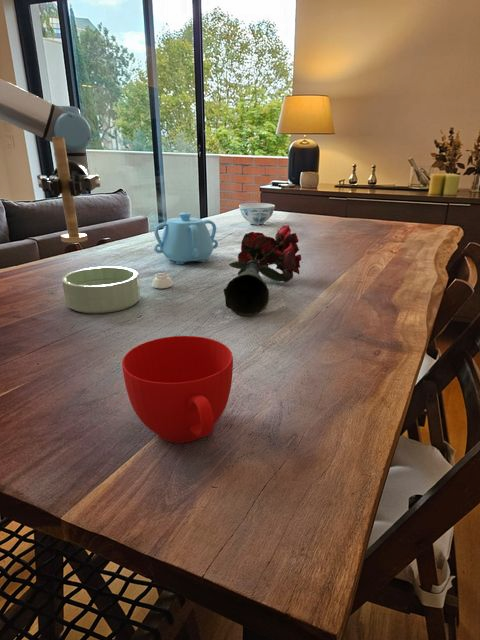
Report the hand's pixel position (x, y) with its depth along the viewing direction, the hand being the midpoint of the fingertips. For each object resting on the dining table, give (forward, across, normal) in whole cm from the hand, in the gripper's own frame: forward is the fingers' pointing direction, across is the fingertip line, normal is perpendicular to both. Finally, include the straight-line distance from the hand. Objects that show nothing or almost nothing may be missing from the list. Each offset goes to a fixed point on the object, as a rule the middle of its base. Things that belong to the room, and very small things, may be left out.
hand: (63, 188), depth 88 cm
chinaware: (-91, -67, -24) cm, 115 cm away
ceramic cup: (+53, -14, -24) cm, 60 cm away
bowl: (-2, -4, -24) cm, 25 cm away
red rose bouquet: (0, -41, -24) cm, 47 cm away
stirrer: (-6, 0, -11) cm, 12 cm away
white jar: (-10, -18, -24) cm, 32 cm away
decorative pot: (-36, -28, -24) cm, 52 cm away
